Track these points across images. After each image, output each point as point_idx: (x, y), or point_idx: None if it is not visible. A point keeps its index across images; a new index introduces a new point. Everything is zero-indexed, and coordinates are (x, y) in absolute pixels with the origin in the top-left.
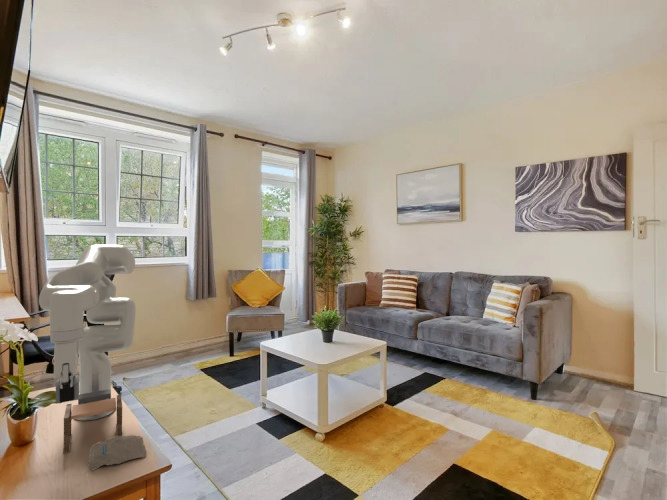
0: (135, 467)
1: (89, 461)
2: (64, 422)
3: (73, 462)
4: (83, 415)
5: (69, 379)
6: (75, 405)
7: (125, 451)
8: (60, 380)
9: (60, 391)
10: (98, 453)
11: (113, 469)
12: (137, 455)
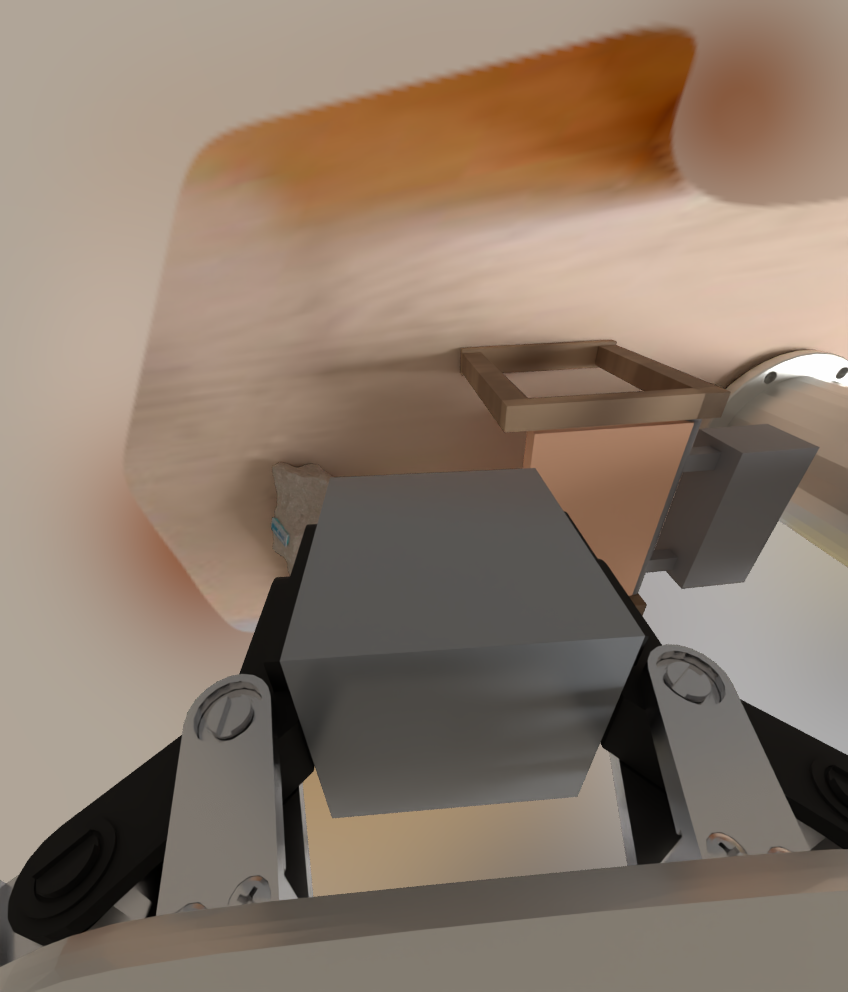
0: (248, 574)
1: (276, 472)
2: (499, 400)
3: (364, 397)
4: None
5: (506, 749)
6: (687, 436)
7: None
8: (163, 880)
9: (280, 627)
10: (280, 511)
11: (258, 523)
12: None
